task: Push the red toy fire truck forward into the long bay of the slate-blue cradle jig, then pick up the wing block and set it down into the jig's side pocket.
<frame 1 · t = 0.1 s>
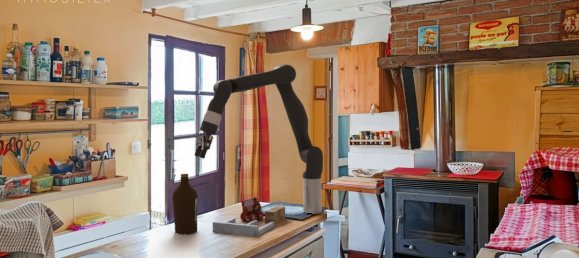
hand: (199, 157, 204), 31 cm above the kitchen island, tool tilted 20°, fingers open, 8 cm apart
wing block: (275, 221, 214), on the kitchen island
cradle jig: (241, 228, 202), on the kitchen island
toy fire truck: (252, 220, 217), on the kitchen island
olive oil: (186, 232, 199), on the kitchen island
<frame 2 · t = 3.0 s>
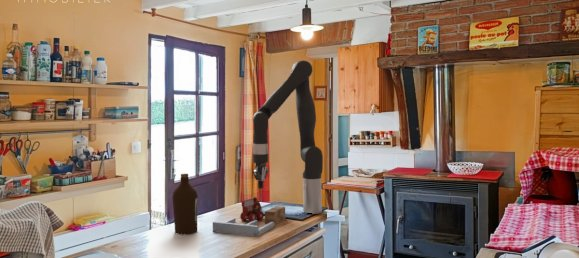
hand: (260, 188, 225), 13 cm above the kitchen island, tool pointing down, fingers closed
nothing on the kitchen island moved.
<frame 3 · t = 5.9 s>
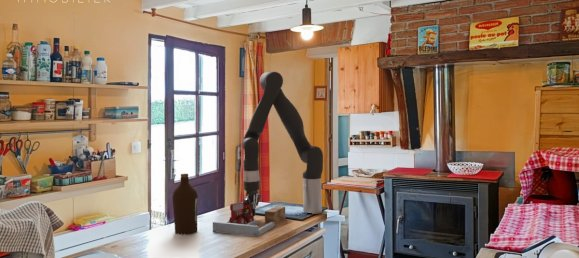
hand: (252, 216, 218), 2 cm above the kitchen island, tool pointing down, fingers closed
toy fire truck: (242, 224, 209), on the kitchen island, touching hand
everything else where it was.
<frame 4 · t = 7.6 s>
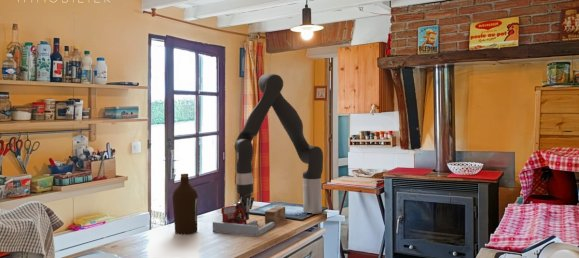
hand: (246, 219, 211), 2 cm above the kitchen island, tool pointing down, fingers closed
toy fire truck: (234, 228, 203), on the kitchen island, touching cradle jig, hand
everything else where it was.
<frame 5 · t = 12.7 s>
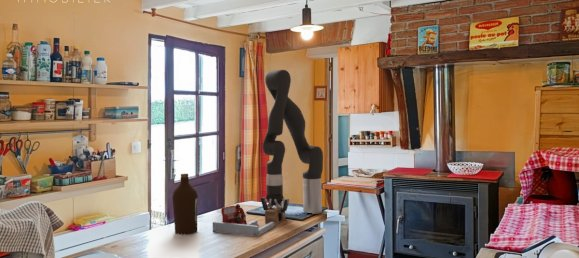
hand: (275, 220, 214), 1 cm above the kitchen island, tool pointing down, fingers closed on wing block, 4 cm apart
wing block: (275, 221, 214), on the kitchen island, touching gripper
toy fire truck: (234, 229, 203), on the kitchen island
everything else where it was.
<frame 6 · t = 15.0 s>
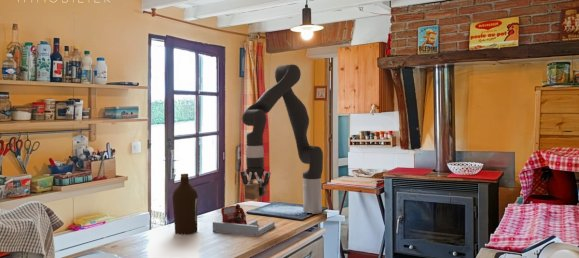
hand: (255, 195, 199), 15 cm above the kitchen island, tool pointing down, fingers closed on wing block, 4 cm apart
wing block: (256, 196, 199), point 14 cm above the kitchen island, touching gripper
everything else where it was.
when the fingers open (2 cm above the kitchen island, at t = 17.6 s): wing block drops 2 cm, on the kitchen island.
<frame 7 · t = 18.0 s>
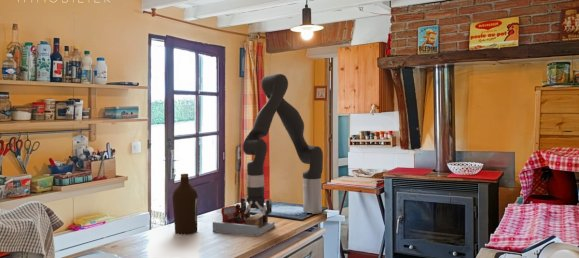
hand: (256, 222, 200), 3 cm above the kitchen island, tool pointing down, fingers open, 7 cm apart
wing block: (257, 230, 200), on the kitchen island
everything else where it was.
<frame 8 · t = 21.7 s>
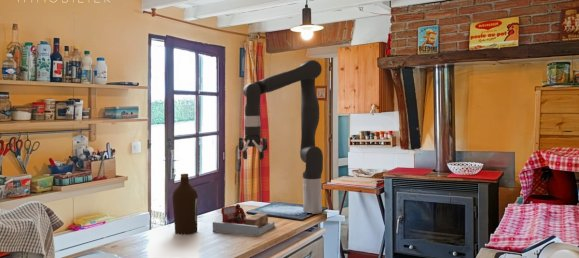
hand: (253, 159, 220), 28 cm above the kitchen island, tool pointing down, fingers open, 8 cm apart
nothing on the kitchen island moved.
at the end: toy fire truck inside the target area (1.1 cm from its centre), on the kitchen island; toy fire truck tilted 0°; wing block inside the target area (0.6 cm from its centre), on the kitchen island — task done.
